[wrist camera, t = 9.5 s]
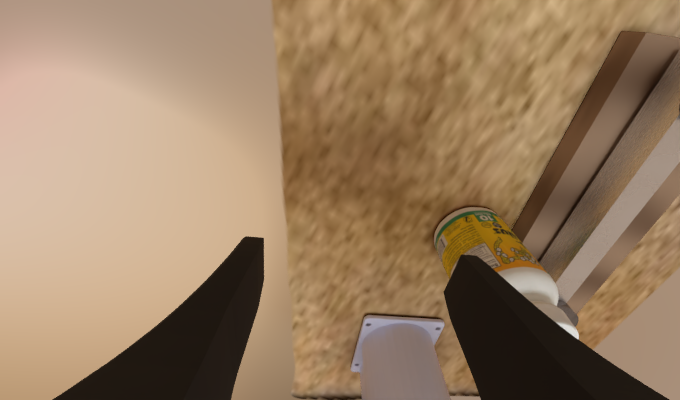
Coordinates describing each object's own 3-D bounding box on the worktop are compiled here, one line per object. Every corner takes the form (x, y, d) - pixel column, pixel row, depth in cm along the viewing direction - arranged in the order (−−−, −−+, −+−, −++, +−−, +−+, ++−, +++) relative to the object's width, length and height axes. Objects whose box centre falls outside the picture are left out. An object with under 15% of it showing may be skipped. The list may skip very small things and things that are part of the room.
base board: (562, 304, 29) (573, 318, 27) (474, 298, 28) (481, 312, 26) (762, 54, 17) (797, 57, 16) (621, 31, 16) (646, 32, 15)
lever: (539, 309, 26) (596, 388, 20) (501, 306, 26) (548, 386, 20) (728, 55, 15) (952, 76, 10) (667, 45, 15) (862, 61, 10)
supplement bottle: (418, 234, 23) (465, 350, 15) (475, 191, 21) (564, 297, 13) (458, 266, 25) (518, 384, 17) (513, 229, 23) (611, 342, 15)
